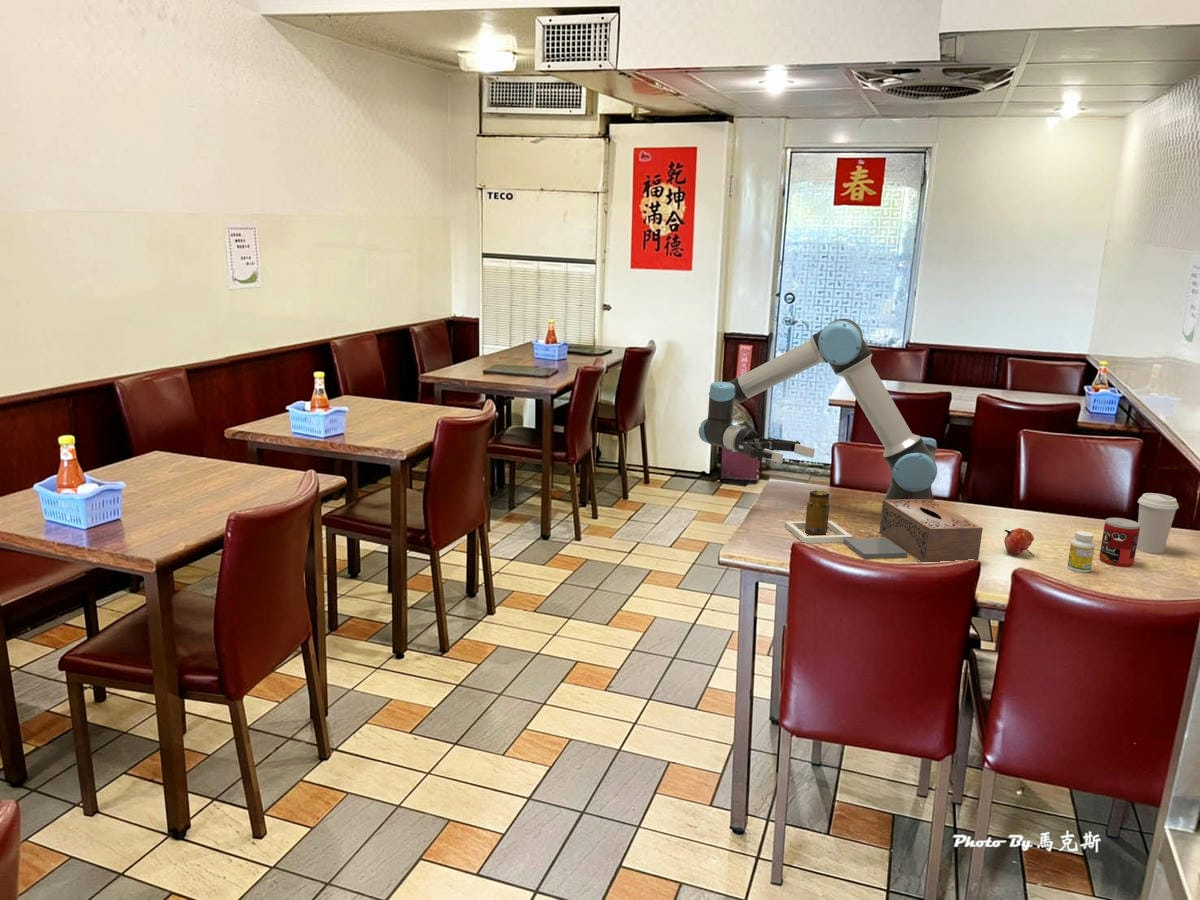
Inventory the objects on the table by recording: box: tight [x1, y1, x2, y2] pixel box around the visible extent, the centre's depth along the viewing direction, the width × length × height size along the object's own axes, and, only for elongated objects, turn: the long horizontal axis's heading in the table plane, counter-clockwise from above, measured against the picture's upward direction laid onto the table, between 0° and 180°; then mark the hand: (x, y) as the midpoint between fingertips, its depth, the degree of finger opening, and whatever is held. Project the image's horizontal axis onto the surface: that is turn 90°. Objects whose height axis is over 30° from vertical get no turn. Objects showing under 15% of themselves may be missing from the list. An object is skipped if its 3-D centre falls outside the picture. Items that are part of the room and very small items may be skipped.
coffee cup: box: [1136, 492, 1180, 555], centre depth 246 cm, size 10×10×15 cm
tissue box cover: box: [878, 499, 983, 563], centre depth 242 cm, size 26×14×10 cm, turn 9°
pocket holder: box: [784, 520, 854, 544], centre depth 251 cm, size 14×14×2 cm
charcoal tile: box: [843, 537, 908, 560], centre depth 239 cm, size 12×12×1 cm
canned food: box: [1099, 517, 1140, 568], centre depth 236 cm, size 8×8×11 cm
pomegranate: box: [1003, 527, 1035, 557], centre depth 240 cm, size 7×7×10 cm
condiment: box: [804, 489, 835, 536], centre depth 250 cm, size 7×8×12 cm
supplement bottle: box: [1067, 530, 1096, 574], centre depth 230 cm, size 5×5×10 cm
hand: (797, 455), depth 254 cm, fingers open, 13 cm apart
